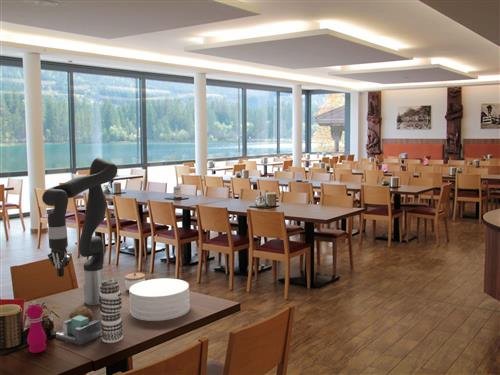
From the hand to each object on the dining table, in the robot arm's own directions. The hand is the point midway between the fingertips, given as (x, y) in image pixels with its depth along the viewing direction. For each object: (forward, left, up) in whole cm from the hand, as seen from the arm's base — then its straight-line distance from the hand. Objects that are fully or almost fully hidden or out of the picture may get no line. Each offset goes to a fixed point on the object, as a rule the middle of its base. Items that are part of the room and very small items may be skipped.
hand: (60, 276), depth 233 cm
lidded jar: (-16, +59, -25) cm, 66 cm away
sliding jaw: (+6, 0, -23) cm, 24 cm away
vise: (+9, 0, -25) cm, 27 cm away
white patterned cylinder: (+23, +6, -25) cm, 35 cm away
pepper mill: (+5, -17, -25) cm, 31 cm away
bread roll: (-7, +14, -25) cm, 30 cm away
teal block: (+11, 0, -24) cm, 26 cm away
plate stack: (+17, +42, -25) cm, 52 cm away
